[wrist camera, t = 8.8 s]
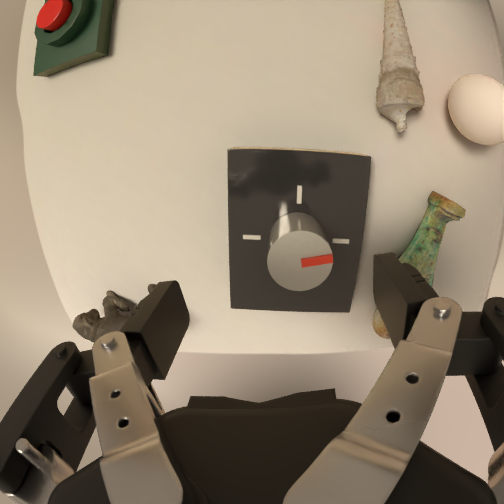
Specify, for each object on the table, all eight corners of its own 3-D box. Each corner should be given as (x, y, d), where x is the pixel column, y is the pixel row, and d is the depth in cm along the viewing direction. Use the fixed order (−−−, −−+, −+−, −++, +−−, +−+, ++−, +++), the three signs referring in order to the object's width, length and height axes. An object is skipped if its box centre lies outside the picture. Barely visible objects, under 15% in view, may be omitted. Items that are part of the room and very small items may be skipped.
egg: (434, 135, 21) (484, 140, 14) (433, 71, 19) (481, 58, 12) (481, 147, 21) (532, 158, 14) (481, 88, 18) (531, 84, 11)
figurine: (464, 213, 24) (484, 224, 20) (389, 328, 30) (399, 350, 26) (429, 186, 23) (449, 195, 20) (352, 312, 29) (359, 335, 26)
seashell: (373, 132, 22) (381, 127, 18) (363, -12, 17) (365, -35, 13) (418, 138, 21) (433, 135, 17) (404, -6, 16) (412, -28, 12)
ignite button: (49, 8, 15) (39, 4, 14) (75, -5, 15) (65, -9, 13) (44, 36, 17) (33, 33, 15) (70, 24, 16) (59, 20, 15)
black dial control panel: (233, 147, 24) (227, 148, 21) (360, 153, 23) (371, 156, 20) (235, 292, 29) (230, 309, 26) (344, 296, 28) (350, 313, 26)
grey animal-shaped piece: (169, 282, 30) (141, 324, 23) (181, 327, 32) (160, 372, 25) (83, 285, 31) (48, 319, 24) (98, 324, 33) (70, 361, 26)
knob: (274, 267, 24) (273, 297, 20) (264, 217, 23) (260, 238, 18) (326, 259, 24) (336, 287, 19) (320, 208, 22) (330, 226, 18)
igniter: (57, -1, 17) (36, -8, 14) (119, -27, 16) (101, -41, 13) (45, 76, 21) (22, 74, 18) (108, 55, 21) (85, 47, 17)
